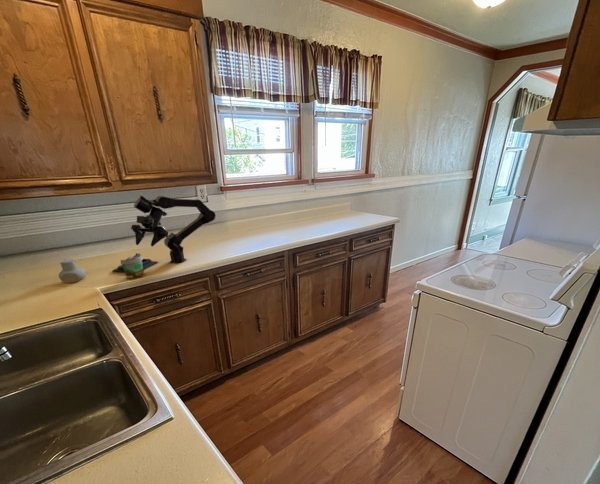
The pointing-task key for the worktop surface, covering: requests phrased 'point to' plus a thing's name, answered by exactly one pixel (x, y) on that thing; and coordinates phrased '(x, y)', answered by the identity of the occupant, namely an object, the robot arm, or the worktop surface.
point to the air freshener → (71, 271)
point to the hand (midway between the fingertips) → (144, 245)
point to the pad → (145, 263)
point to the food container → (133, 266)
